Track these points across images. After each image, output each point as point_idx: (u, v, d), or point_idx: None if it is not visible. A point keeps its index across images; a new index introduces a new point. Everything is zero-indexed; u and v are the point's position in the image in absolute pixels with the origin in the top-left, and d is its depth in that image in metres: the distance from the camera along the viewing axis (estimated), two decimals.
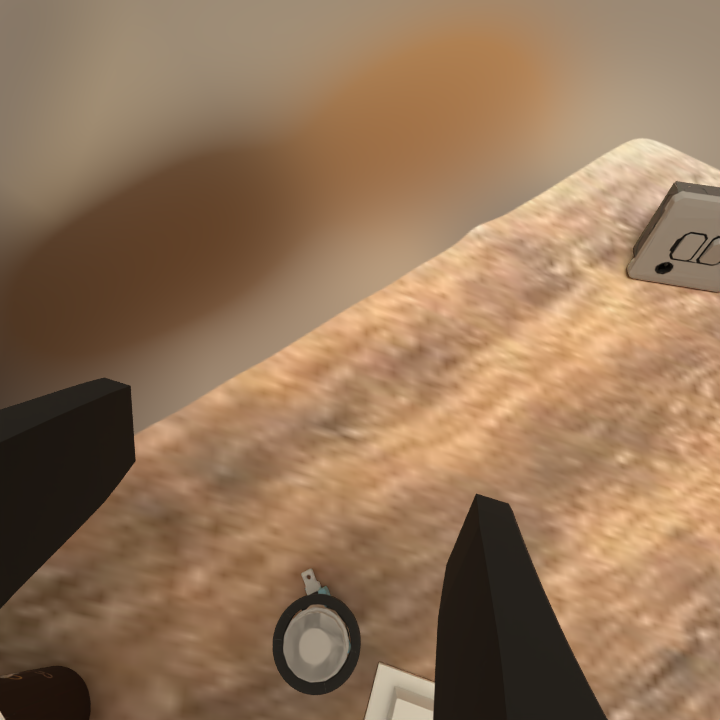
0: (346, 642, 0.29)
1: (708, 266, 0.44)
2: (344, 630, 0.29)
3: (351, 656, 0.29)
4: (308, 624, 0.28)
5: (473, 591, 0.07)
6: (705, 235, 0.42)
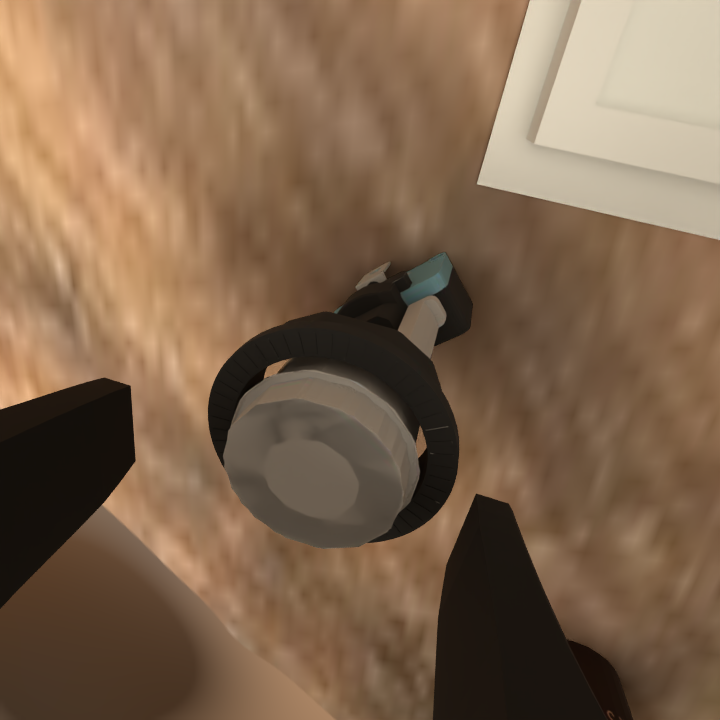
0: (303, 375, 0.09)
1: None
2: (275, 379, 0.09)
3: (345, 354, 0.09)
4: (259, 492, 0.09)
5: (473, 591, 0.07)
6: None
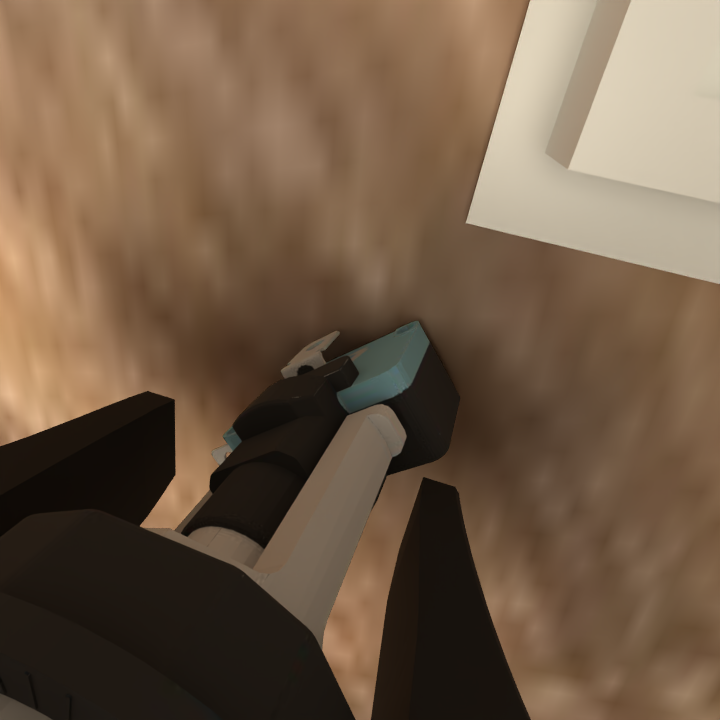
0: None
1: None
2: None
3: (34, 700, 0.03)
4: None
5: (409, 569, 0.07)
6: None
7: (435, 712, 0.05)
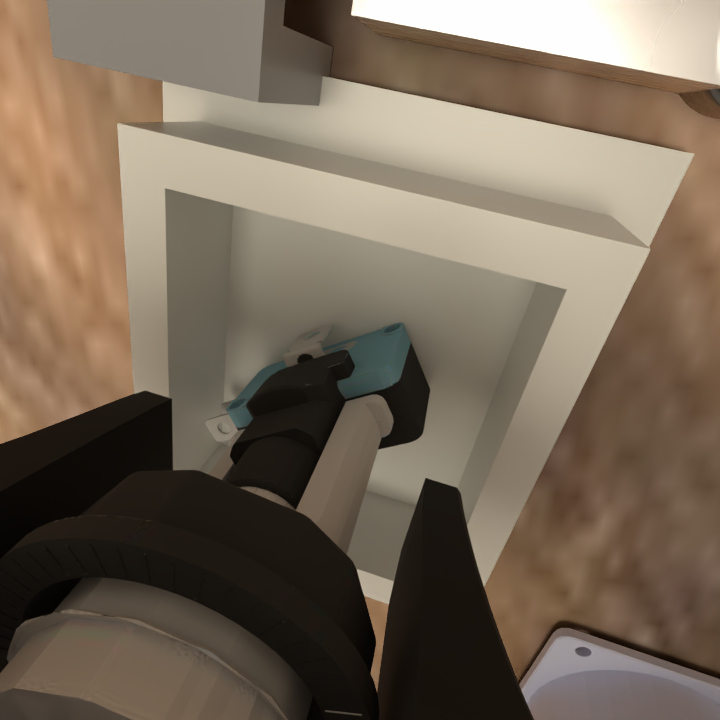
0: (120, 619, 0.05)
1: None
2: (75, 610, 0.05)
3: (197, 593, 0.05)
4: None
5: (412, 570, 0.07)
6: None
7: (439, 714, 0.05)
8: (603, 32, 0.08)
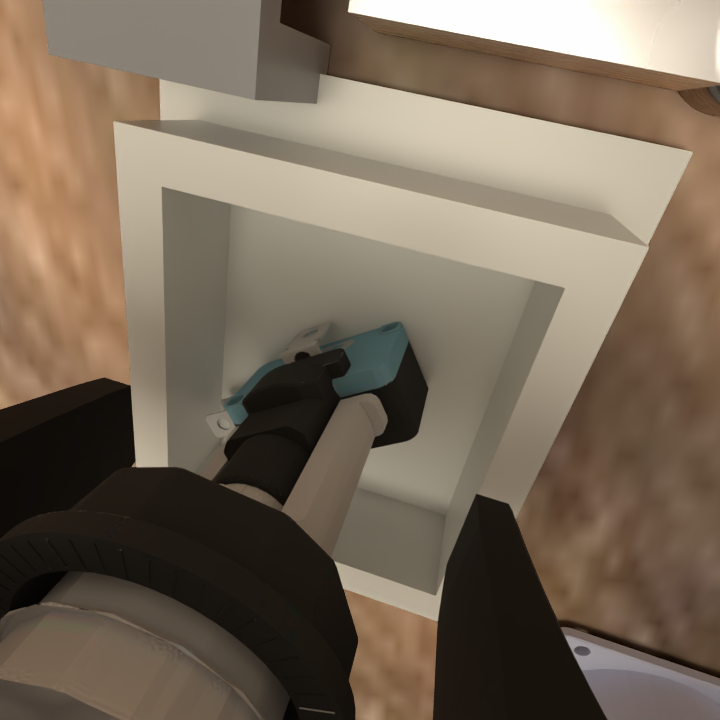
0: (98, 613, 0.05)
1: None
2: None
3: (172, 589, 0.05)
4: None
5: (473, 591, 0.07)
6: None
7: None
8: (601, 29, 0.08)
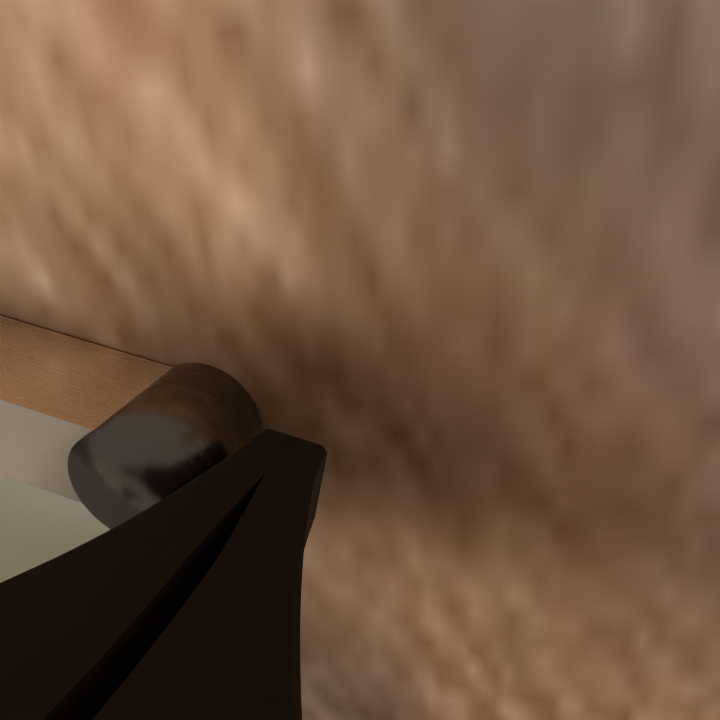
0: None
1: None
2: None
3: None
4: None
5: None
6: None
7: (199, 624, 0.05)
8: (4, 462, 0.09)
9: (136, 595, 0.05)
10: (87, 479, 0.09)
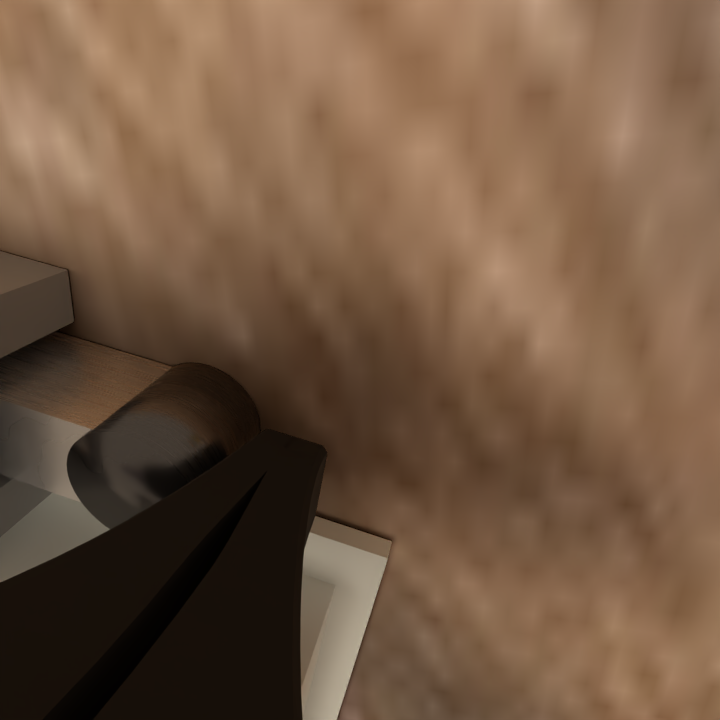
0: None
1: None
2: None
3: None
4: None
5: None
6: None
7: (199, 624, 0.05)
8: (3, 461, 0.09)
9: (137, 594, 0.05)
10: (86, 478, 0.09)
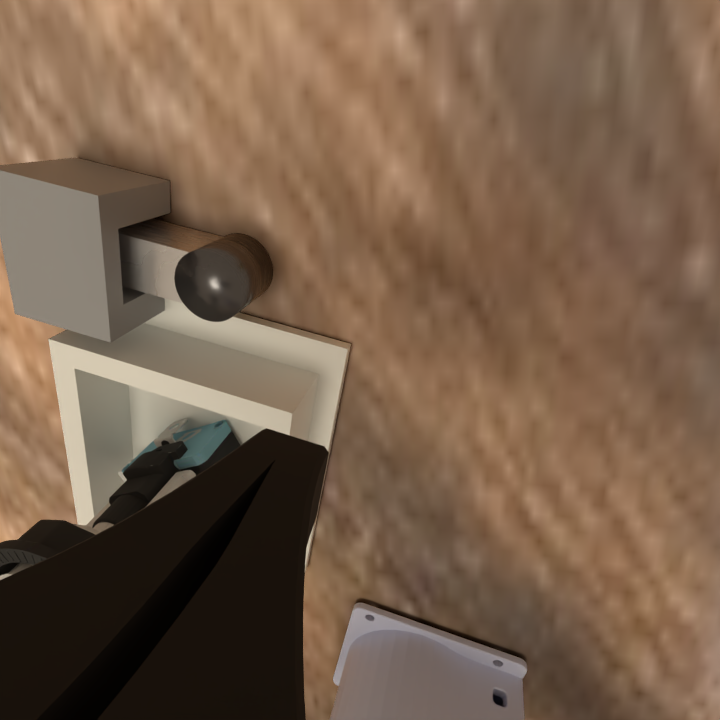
0: None
1: None
2: (10, 574, 0.14)
3: None
4: None
5: None
6: None
7: (202, 625, 0.05)
8: (136, 280, 0.17)
9: (134, 593, 0.05)
10: (184, 281, 0.17)
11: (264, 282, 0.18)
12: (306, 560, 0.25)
